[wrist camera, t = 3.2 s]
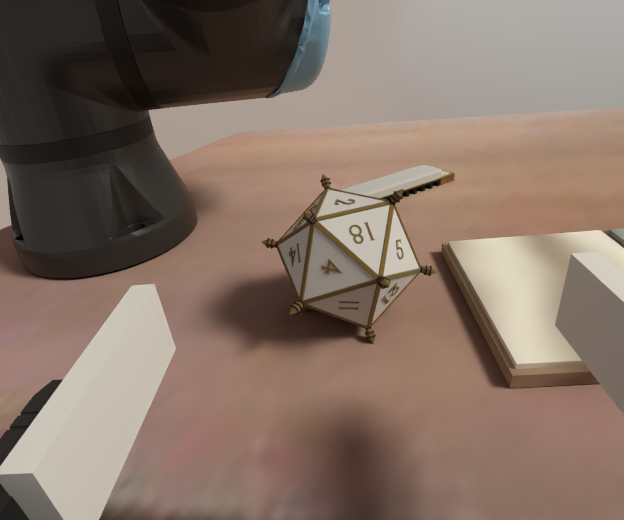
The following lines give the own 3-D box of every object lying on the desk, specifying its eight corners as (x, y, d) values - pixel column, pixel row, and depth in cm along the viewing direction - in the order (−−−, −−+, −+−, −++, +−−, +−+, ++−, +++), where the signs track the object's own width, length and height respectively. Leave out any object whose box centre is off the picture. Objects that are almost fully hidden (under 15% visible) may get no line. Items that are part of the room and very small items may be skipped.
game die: (346, 381, 26) (252, 334, 18) (302, 278, 31) (213, 207, 23) (477, 305, 24) (433, 216, 16) (406, 208, 29) (347, 106, 22)
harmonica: (432, 177, 46) (433, 159, 45) (453, 184, 43) (455, 165, 42) (317, 215, 40) (315, 195, 39) (335, 225, 38) (333, 204, 37)
